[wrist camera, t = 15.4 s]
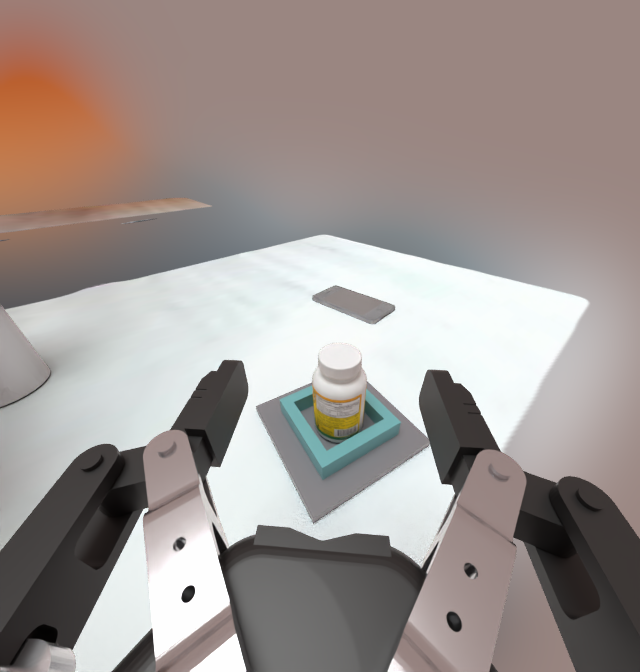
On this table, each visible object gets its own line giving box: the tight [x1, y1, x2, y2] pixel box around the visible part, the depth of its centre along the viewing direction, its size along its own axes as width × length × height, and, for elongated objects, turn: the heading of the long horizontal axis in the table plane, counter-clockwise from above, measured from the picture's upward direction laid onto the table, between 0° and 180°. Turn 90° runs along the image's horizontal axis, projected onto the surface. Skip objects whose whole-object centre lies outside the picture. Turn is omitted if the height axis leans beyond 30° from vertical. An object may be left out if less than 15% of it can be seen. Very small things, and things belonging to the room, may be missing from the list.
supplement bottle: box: [312, 343, 367, 443], centre depth 27 cm, size 5×5×10 cm
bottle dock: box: [256, 382, 430, 523], centre depth 30 cm, size 14×14×3 cm
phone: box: [312, 286, 395, 324], centre depth 56 cm, size 8×16×1 cm, turn 47°
